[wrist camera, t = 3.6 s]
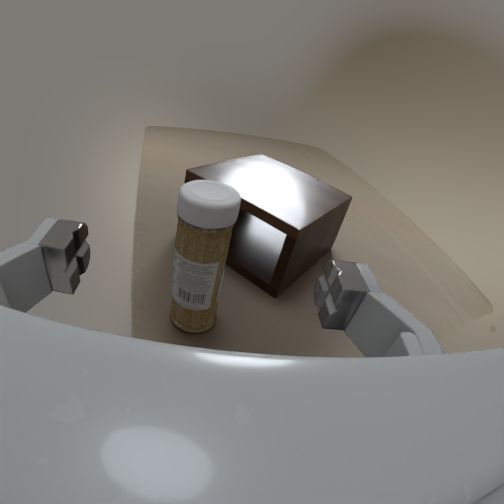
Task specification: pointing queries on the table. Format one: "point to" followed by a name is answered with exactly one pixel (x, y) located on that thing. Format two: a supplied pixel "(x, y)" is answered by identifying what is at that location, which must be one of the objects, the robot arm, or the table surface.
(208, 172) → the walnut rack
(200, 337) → the table surface
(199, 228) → the sprinkles bottle
